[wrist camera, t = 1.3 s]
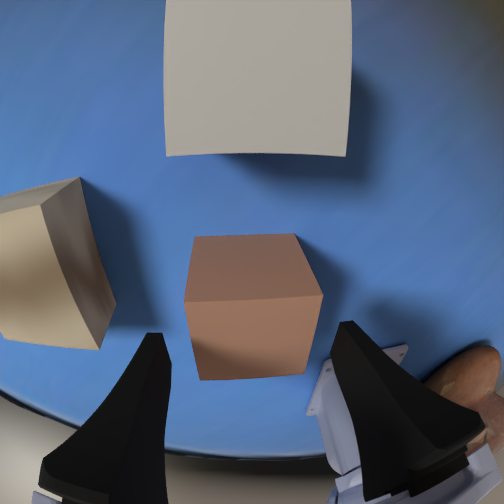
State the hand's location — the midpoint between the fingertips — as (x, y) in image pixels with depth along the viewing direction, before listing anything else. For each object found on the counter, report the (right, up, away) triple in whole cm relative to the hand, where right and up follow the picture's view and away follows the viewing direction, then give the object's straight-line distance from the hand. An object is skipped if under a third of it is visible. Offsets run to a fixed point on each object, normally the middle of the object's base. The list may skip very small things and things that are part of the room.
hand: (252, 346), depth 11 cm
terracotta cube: (0, +3, +4) cm, 5 cm away
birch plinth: (-12, +4, +3) cm, 13 cm away
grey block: (0, +11, -1) cm, 11 cm away
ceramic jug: (+25, -12, +16) cm, 32 cm away
